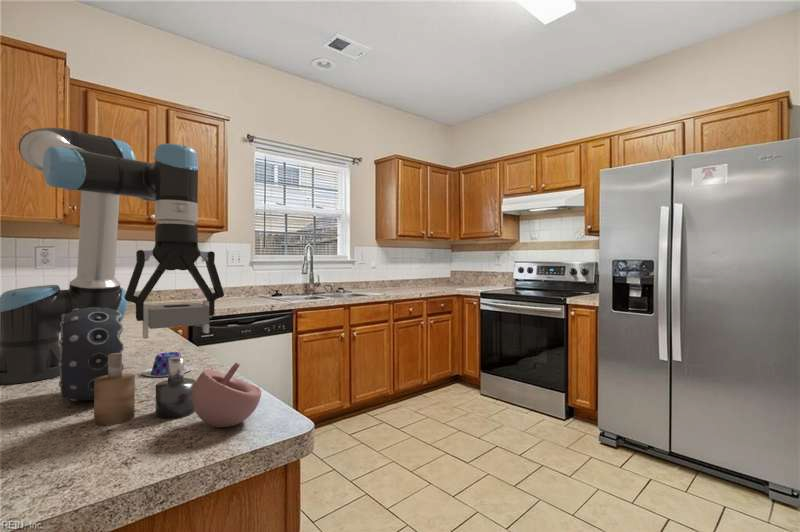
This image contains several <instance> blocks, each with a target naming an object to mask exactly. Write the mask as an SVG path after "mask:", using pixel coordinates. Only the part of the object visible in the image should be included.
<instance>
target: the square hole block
mask: <svg viewBox="0 0 800 532" xmlns="http://www.w3.org/2000/svg"><path fill="white" fill-rule="evenodd" d="M207 324H209V325H210V316H209V306H206V305H204V304H203V303H201V302H190V303H189V302H188V303H187V302H183V303H167V304H166V303H165V304H164V303H163V304H148V329H149V330H151V329H152V330H153V329H154V330H155V329H164V328H179V327H189V326H190V327H192V326H194V327H195V326H203V325H207Z"/></svg>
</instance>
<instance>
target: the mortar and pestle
mask: <svg viewBox="0 0 800 532" xmlns="http://www.w3.org/2000/svg"><path fill="white" fill-rule="evenodd" d="M240 366H241V365H240V363H239V362H235V363H234V364H233V365H232V366H231V368H230V369H229V370H228V371H227V373H223V372H219V371H217V370H213V369H205V370H203V371H202V372H201V373H200V375H199V376H198V377H197V379H196V380H195V384H194V387H193V391H192V404H193V407H194V410H195V414H196V416H197V417H199V418H200V419H201V420H202V421H203V422H204V423H206V424H207V425H210V426H213V427H217V428H229V427H233V426H236V425H239V424H240V423H242V422H244V421H246V420H247V419H248V418H249V417H250V416H251V415H252V414H253V413H255V411H256V408H257V407H258V405H259V403H260V401H261V397H262V390H261V389H260V387H258V386H256V385H254V384H253V383H249V382H247V381H243V380H241V379H239V378H237V377H234V375H235V373H236V372H237V370H238V368H239V367H240Z"/></svg>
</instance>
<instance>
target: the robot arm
mask: <svg viewBox="0 0 800 532" xmlns="http://www.w3.org/2000/svg"><path fill="white" fill-rule="evenodd" d="M17 149H18V152H19V154H20V157H21V158H22V160H23V161H24V162H26V164H28V166H30V167H32V168H34V169H35V170H38V171H41V172H42V174H43V175H42V176H43V178H44V181H45V183H46V184H47V185H48V186H49V187H53V188H59V189H63V190H67V191H81V194H80V195H81V198H80V213H79V215H80V216H79V217H80V218H79V231H78V233H79V234H78V248H77V249H78V251H77V252H78V253H77V269H76V277H74V278H73V279H72V280H71V281H69V284H68V285H69V287H68V289H61V287H60V285H58V284H47V285H46V284H45V285H35V286H26V287H20V288H15V289H10V290H5V291H4V292H2V294H0V385H6V384H7V385H8V384H11V385H12V384H22V383H30V382H37V381H42V380H47V379H51V378H55V377H58V376H59V377H60V367H59V366H58V363H59V362H60V344H59V340H60V334H61V326H60V323H61V322H62V318H61V316H62V315H63V314H67V313H70V312H71V311H72V310H74V309H84V308H93V307H97V308H109V309H113V310H117V311H119V312H121V314H122V318H121V319H120V323H121V322H122V321H123V320H124V318H125V315H126V313H127V309H128V308H127V307H128V302H130V303H134V304H135V319H136V321H137V322H142V338H143V339H144V340H146V339H149V327H148V305H149V303H147V302H146V303H145V301H146V299H147V298H148V297H149V295H150V294H151V293H152V291H153V289H155V286H156V285H157V283H158V282H159V280H160V279H161V277H162V275H163V274H164V273H165V272H166V271H177V270H178V271H188V273H189V274H190V275H191V276H192V278H193V280H194V281H195V283H196V285H197V286H198V288H199V289H200V291H201V292H202V294H203V296H204V297H205V298H206V300H202V304H204V305H206V306H209V317H214V315H215V302H216V301H217V299H219V298H223V297H224V296H225V292H224V290H223V286H222V283H221V280H220V277H219V274H218V269H217V267H216V263H215V252H214V251H201V250H200V249H199V243H198V242H199V238H198V237H199V233H198V232H199V231H198V230H199V228H198V227H197V225H195V224H197V223H198V222H199V217H198V215H199V211H198V210H199V209H198V207H199V206H198V205H199V204H198V203H199V202H198V201H199V200H198V198H199V196H198V192H199V170H200V169H199V163H198V152H197V151H196V150H195V149H194V148H192V147H190V146H187V145H184V144H183V145H182V144H177V143H161V144H159V145H157V146H156V147H155V152H154V153H155V154H154V157H153V159H154V161H153V162H147V161H141V160H137V159H136V156H135V153H134V150H133V149H132V147H131V145H130V144H128V143H127V142H125V141H123V140H118V139H115V138H113V137H112V138H111V137H107V136H101V135H97V134H91V133H85V132H82V131H77V130H76V131H75V130H70V129H66V128H61V127H60V128H59V127H40V128H35V129H31V130H28V131H27V132H25V133H24V134H23V135H22V136H21V137H20V139H19V141H18V148H17ZM121 196H124V197H133V198H134V197H135V198H138V199H140V200H143V201H147V202H152V201H153V202H154V206H155V207H154V210H155V211H154V214H155V215H154V220H155V221H156V222H157V224H156V225H155V226H154V227H155V228H154V230H155V231H154V247H153V249H151V250H149V249H148V250H143V249H138V250H137V251H136V252H135V256H136V259H135V260H136V263H135V266H134V269H133V272H132V274H131V277H130V281H129V283H128V285H127V289H125V288H123V287H121V282H120V281H119V280H118V279H117V278H116V277H115V273H116V271H115V270H116V262H117V261H116V259H117V242H118V227H119V216H120V215H119V214H120V213H119V211H120V197H121ZM152 256H153V258H154V259H155V260H156V261H157V262H158V265H157V267H156V268H155V270H154V272H153V273H152V275H151V276H150V277H149V279H148V281H147V282H146V283H145V284H144V287H142V289H141V291H140V292H139V294H138V295H135V293H136V290H137V287H138V285H139V282H140V279H141V276H142V274H143V271H144V268H145V264H146V262H149V260H150V257H152ZM199 258H202V261H203V262H204V263H205V266H206V270H207V271H208V274H209V275H208V276H209V278H210V281H211V285H212V288H213V291H214V292H212V290H211V289H210V287H209V285H208V284H207V283H206V281H205V279H204V278H203V276H202V275H201V273H200V271H199V269H198V267H197V266H196V264H195V263H196V262H197V260H199ZM202 332H203V333H204V334H209V333H210V323H209V324H207V325H202Z"/></svg>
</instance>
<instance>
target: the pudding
mask: <svg viewBox="0 0 800 532" xmlns="http://www.w3.org/2000/svg"><path fill="white" fill-rule="evenodd" d="M172 357H182V355H181V354H180V352H177V351H167V352H162V353H158V354H157V355H156V356H155V358H154V362H153V366H152V368H148V369H145V370H143V371H142V375H143V376H146V377H168V359H169V358H172ZM184 368H186V369H187V370H186V371H185V372H184V374H185V373H187V372H190V371H192V370H193V366H192V365H189V364H184ZM184 370H185V369H184Z"/></svg>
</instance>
